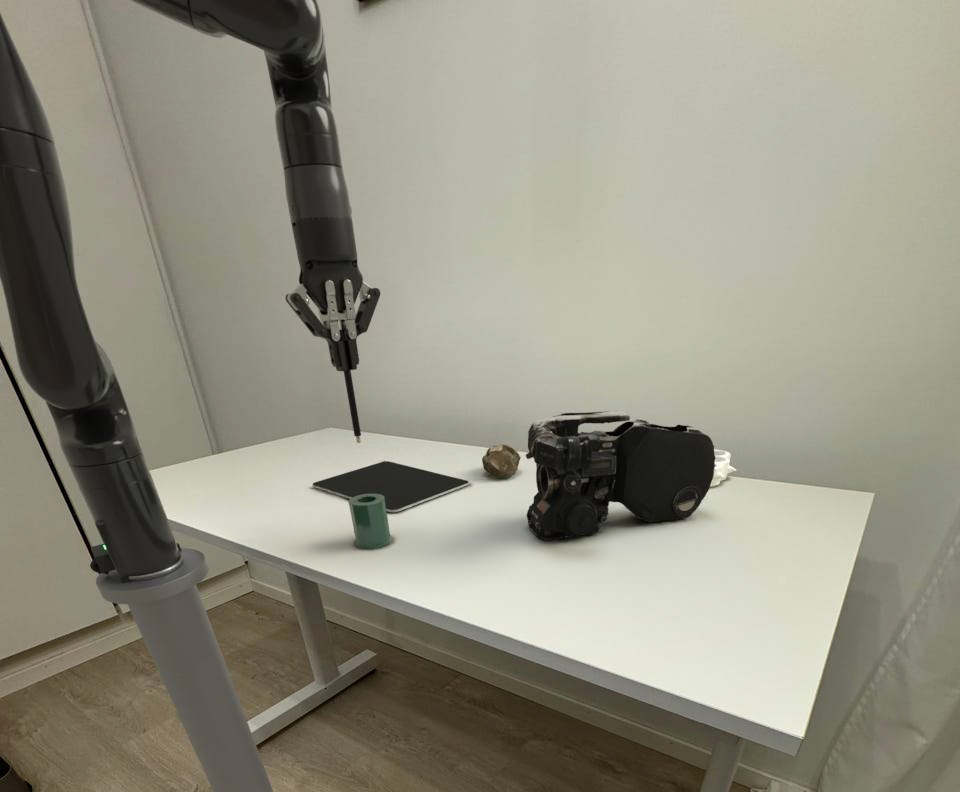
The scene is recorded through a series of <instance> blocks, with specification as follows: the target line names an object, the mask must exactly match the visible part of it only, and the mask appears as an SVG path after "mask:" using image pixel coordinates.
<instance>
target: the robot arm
mask: <svg viewBox="0 0 960 792" xmlns="http://www.w3.org/2000/svg"><path fill="white" fill-rule="evenodd" d="M129 1H130V2H133V3H135V4H137V5H139V6H141V7H144V8H146V9H148V10H150V11H151V12H154V13H157V14H158V15H161V16H163V17H165V18H167V19H169V20H171V21H174V22H177V23H178V24H181V25H183V26H185V27H188V28H190V29H192V30H195V31H197V32H198V33H200V34H203V35H205V36H209V37H212V38H217V39H222V38H225V37H226V36H230V37H231V38H234V39H236V40H239V41H241V42H244V43H246V44H248V45H251V46H253V47H256V48H258V49H260V50H262V51H263V53H264V57H265V62H266V66H267V71H268V76H269V82H270V86H271V91H272V96H273V100H274V105H275V113H274V122H275V123H274V124H275V131H276V137H277V143H278V148H279V153H280V159H281V165H282V170H283V176H284V177H283V178H284V186H285V188H284V189H285V196H286V203H287V207H288V213H289V218H290V223H291V229H292V234H293V239H294V245H295V249H296V256H297V260H298V264H299V269H300V270H299V271H300V272H299V277H298V283H299V284H298V286H297V287H296V288H295V289H293V291H292V292H289V293H286V294H285V298H284V299H285V301H286V303H287V304H288V305H289V307H290V308H291V310H293V312H294V313H295V314H296V316H297V317H298V318H299V319H300V320H301V322H302V323H303V324H304V326H305V327H306V328H307V330H308V331H309V332H310V333H311V335H312V336H313V337H317V338H320V339H324V340H325V341H326V342H327V346H328V353H329V357H330V363H331V365H332V367H333V368H335V369H336V371H337V372H344V371H347V366H346V360H345V353H344V347H343V341H340V331H339V330H340V329H344V332H345V339H346V345H347V351H348V357H349V363H350V370H351V371H356V370H357V369H358V366H357V365H360V356H359V350H358V343H357V340H358V339H357V338H358V337H359V336H360V335H362V334H364V333H365V334H366V333H367V332H368V330H369V327H370V324H371V321H372V318H373V316H374V314H375V311H376V308H377V305H378V302H379V300H380V297H381V290H380V289H379V288H378V287H373V286H370V284H368V283H367V282H365V281H364V277H363V274H362V272H361V271H360V268H359V265H358V252H357V244H356V237H355V229H354V224H353V216H352V215H353V214H352V213H353V211H352V206H351V203H350V196H349V190H348V186H347V182H346V178H345V172H344V169H343V168H344V167H343V161H342V160H343V159H342V154H341V153H342V151H341V146H340V140H339V134H338V129H337V123H336V119H335V115H334V112H333V107H332V96H331V84H330V76H329V66H328V58H327V50H326V49H327V48H326V40H325V33H324V26H323V21H322V16H321V10H320V6H319V4H318V0H129ZM39 97H40V96H39V95H38V92H37V90H36V88H35V85H34V83H33V81H32V79H31V76H30V75H29V73H28V70H27V68H26V66H25V64H24V62H23V60H22V58H21V55H20V53H19V51H18V49H17V47H16V45H15V42H14V39H13V38H12V36H11V34H10V31H9V30H8V27H7V24H6V23H5V20H4V18H3V16H2V13H1V12H0V283H1V287H2V289H3V290H2V292H3V294H4V300H5V303H6V309H7V313H8V318H9V322H10V323H9V324H10V327H11V333H12V339H13V343H14V350H15V355H16V360H17V364H18V368H19V371H20V373H21V375H22V377H23V379H24V381H25V382H26V384H27V386H28V387H30V388H31V390H32V391H33V392H34V393H35V394H36V395H37V396H38V397H39V398H40V399H42V400H43V401H45V403H46V407H47V408H48V410H49V413H50V415H51V418H52V419H53V422H54V426H55V429H56V432H57V436H58V442H59V447H60V449H61V453H62V454H63V456H64V458H65V461H66V464H68V467H69V469H70V471H71V473H72V476H73V478H74V480H75V482H76V484H77V487H78V489H79V491H80V493H81V496H82V498H83V500H84V502H85V505H86V507H87V509H88V511H89V513H90V516H91V518H92V520H93V523H94V525H95V527H96V530H97V531H98V534H99V536H100V539H101V541H102V542H103V543H100V544H96V545H93V546H90V550H91V552H92V555H93V558H92V560H91V562H90V564H89V567H90V569H91V571H93V572H94V573H97V574H100V573H102V574H108V573H109V571H113V570H116V573H117V575H118V577H119V578H120V580H121V582H122V583H127V582H132V581H144V580H150V579H154V578H158V577H161V576H164V575H167V574H169V573H171V572H173V571H175V570H177V569H178V568H179V567H181V566H182V565H183V563H184V559H183V557H182V554H181V553H180V551H181V548H182V547H181V545H180V543H178V542H177V541H176V537H175V535H174V532H173V529H172V526H171V524H170V522H169V518H168V516H167V514H166V511H165V509H164V506H163V504H162V500H161V497H160V495H159V492H158V490H157V487H156V485H155V482H154V479H153V476H152V473H151V471H150V468H149V465H148V463H147V460H146V458H145V455H144V452H143V451H142V447H141V444H140V442H139V439H138V434H137V432H136V428H135V425H134V422H133V418H132V416H131V413H130V410H129V407H128V405H127V401H126V399H125V396H124V394H123V393H124V392H123V391H122V388H121V385H120V382H119V380H118V377H117V374H116V371H115V369H114V366H113V364H112V362H111V360H110V358H109V356H108V354H107V353H106V350H105V349H104V348H103V347H102V346H101V345H100V344H99V343H98V342H97V341H96V340H95V336H94V335H93V331H92V328H91V326H90V323H89V320H88V317H87V313H86V311H85V308H84V304H83V302H82V298H81V294H80V290H79V286H78V285H79V284H78V281H77V275H76V268H75V257H74V240H73V231H72V222H71V213H70V208H69V207H70V206H69V200H68V195H67V190H66V185H65V181H64V177H63V173H62V169H61V164H60V160H59V156H58V155H59V154H58V151H57V148H56V145H55V139H54V136H53V133H52V130H51V126H50V123H49V120H48V118H47V114H46V112H45V110H44V107H43V105H42V103H41V100H40V98H39ZM308 297H309V298H308ZM358 297H359V298H358ZM309 299H310V300H311V302H312V303H313V304H314V305H315V306H316V307H317V310H318V315H319V318H318V316H317V315H316V313H314V311H313V310H312V308H311V307H310V306H309V304H310V301H309ZM358 299H359V300H360V303H359V306H358V307H357V311H356V308H355V304H356V301H357V300H358ZM181 552H182V551H181Z"/></svg>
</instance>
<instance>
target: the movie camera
mask: <svg viewBox="0 0 960 792" xmlns="http://www.w3.org/2000/svg"><path fill="white" fill-rule="evenodd" d="M630 419H631V416H630V415H628V414H627V413H625V412H624V411H619V410H617V411H615V410H612V411H592V412H590V411H589V412H565V413H559V414H555V415H550V416H547V417H543V418H539V419H536V420H535V421H533V422H532V423H531V425H530V427H529V429H528V433H527V436H528V437H527V449H528V452H527V453H526V454H525V458H526V459H527V460H530V459H533V461H534V464H536V465H535V468H536V472H535V480H536V482H535V483H536V488H537V489H536V490H537V492H536V494H534V496H533V503H531V505H529V506H528V509H527V513H526V519H527V526H528V528H529V530H531V531H532V532H533V533H534V534H535V536H537V537H538V539H540V540H544V541H545V540H546V541H547V540H548V541H549V540H559V539H562V540H563V539H565V538H570V537H572V538H574V537H581V536H588V535H589V536H593V534H595V533H598V532H599V529H600V528H601V526H602V525H603V523H605V522H607V520H608V515H609V505H610V503H619V504H621V505H623V506H624V507H625V508H626V509H627V510H628V511H629V512H630V513H631V514H632V515H633V516H635V517H636V518H638V519H639V520H642V521H643V522H646V523H655V522H663V521H665V522H666V521H674V520H682V519H686V518H687V519H688V518H689V517H691V516H692V515H693V513H695V511H696V510H697V509H698V508H699V506H700V505H701V504H702V501H703V500H704V499H705V497H706V495H707V494H708V492H709V490H710V488H711V487H710V484H711V481H712V479H713V476H714V467H715V459H716V457H715V454H714V450H715V445H714V442H713V440H712V438H711V437H710V436H709V435H708V434H706V433H704V432H702V431H701V430H699V428H696V427H693V426H691V425H684V424H683V425H682V424H677V425H675V426H665V425H658V424H654V423H649V421H647V420H643V419H635V420H631V421H630ZM619 422H620V423H621V422H623V423H622V424H620V425H618V426H617V427H615V429H613V430H611V431H603V430H602V431H601V430H594V431H590V432H589V431H588V432H585V431H581V432H579V426H581V425H584V424H592V425H593V424H601V425H603V424H606V423H607V424H611V423H619ZM537 524H538V525H539V529H538V527H537Z"/></svg>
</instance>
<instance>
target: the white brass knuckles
mask: <svg viewBox="0 0 960 792" xmlns="http://www.w3.org/2000/svg"><path fill="white" fill-rule="evenodd" d="M714 454H715V457H716V459H715V467H714V476H713V479H712V481H711V484H710V488H713V487H715V486H718V485H720V483H721V482H722V481H725V480H726V479H727V476H728V474H730V473H733V472H736V471H737V469H736V468H734V467H733V466H731V465H730V462H731V456H732V454H731V453H730V452H729V451H726V450H724V449H723V450H722V449H714Z"/></svg>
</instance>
